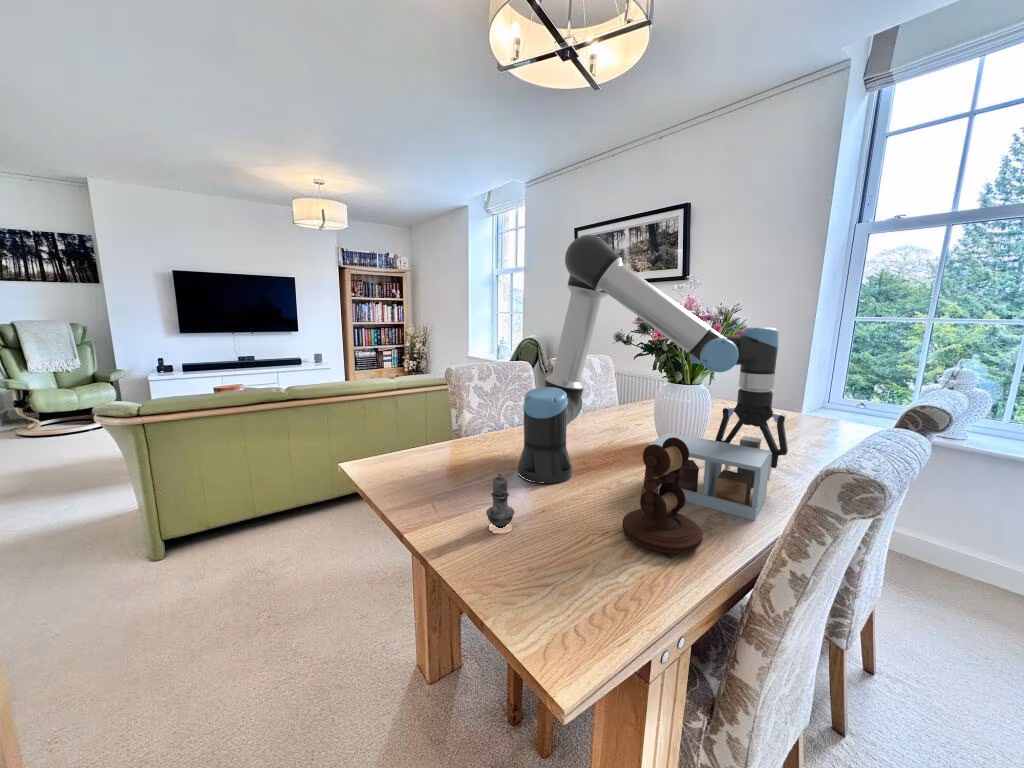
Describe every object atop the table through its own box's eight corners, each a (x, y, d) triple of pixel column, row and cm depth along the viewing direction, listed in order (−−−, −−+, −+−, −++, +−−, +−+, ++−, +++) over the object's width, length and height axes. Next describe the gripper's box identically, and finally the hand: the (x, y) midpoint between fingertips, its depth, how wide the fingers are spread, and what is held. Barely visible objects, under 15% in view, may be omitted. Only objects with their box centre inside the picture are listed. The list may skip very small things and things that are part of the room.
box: (697, 497, 98) (699, 468, 97) (670, 495, 99) (672, 466, 98) (691, 486, 104) (693, 459, 103) (666, 485, 105) (668, 458, 104)
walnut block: (714, 505, 94) (718, 456, 92) (735, 477, 110) (739, 435, 107) (743, 513, 90) (748, 462, 88) (760, 483, 106) (765, 439, 104)
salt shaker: (504, 538, 81) (504, 481, 79) (480, 530, 84) (479, 475, 82) (519, 525, 86) (519, 471, 84) (496, 518, 89) (496, 465, 87)
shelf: (645, 490, 102) (648, 444, 100) (665, 474, 112) (667, 432, 110) (754, 520, 87) (760, 467, 85) (765, 498, 97) (771, 450, 95)
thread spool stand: (649, 512, 91) (654, 426, 87) (715, 541, 79) (724, 442, 76) (607, 535, 82) (610, 439, 78) (675, 570, 70) (683, 460, 67)
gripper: (809, 392, 98) (798, 480, 102) (713, 382, 111) (707, 461, 115) (806, 396, 92) (795, 490, 96) (705, 386, 106) (699, 468, 110)
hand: (747, 474), depth 106 cm, fingers open, 9 cm apart
